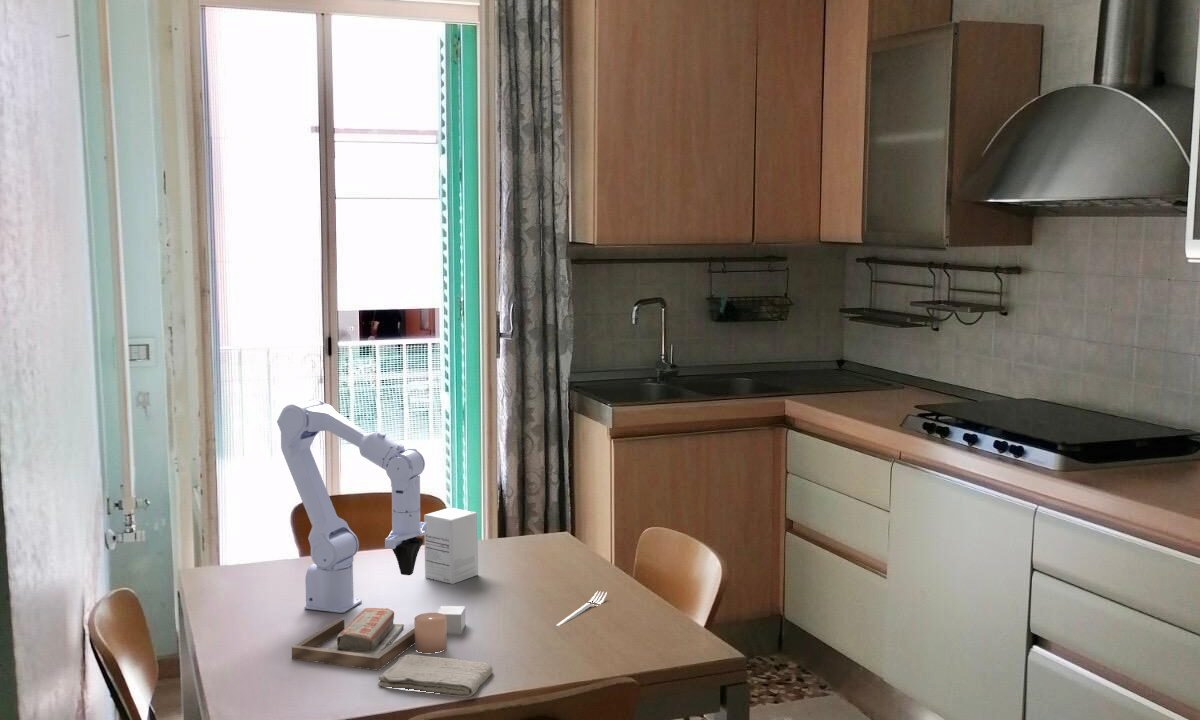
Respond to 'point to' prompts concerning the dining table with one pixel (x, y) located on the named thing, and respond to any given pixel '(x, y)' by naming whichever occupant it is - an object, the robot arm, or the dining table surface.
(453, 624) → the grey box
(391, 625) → the packaged product
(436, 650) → the peach pillar candle
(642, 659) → the dining table surface
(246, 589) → the dining table surface
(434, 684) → the washcloth
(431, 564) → the supplement box
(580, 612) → the fork
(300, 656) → the open wooden frame
